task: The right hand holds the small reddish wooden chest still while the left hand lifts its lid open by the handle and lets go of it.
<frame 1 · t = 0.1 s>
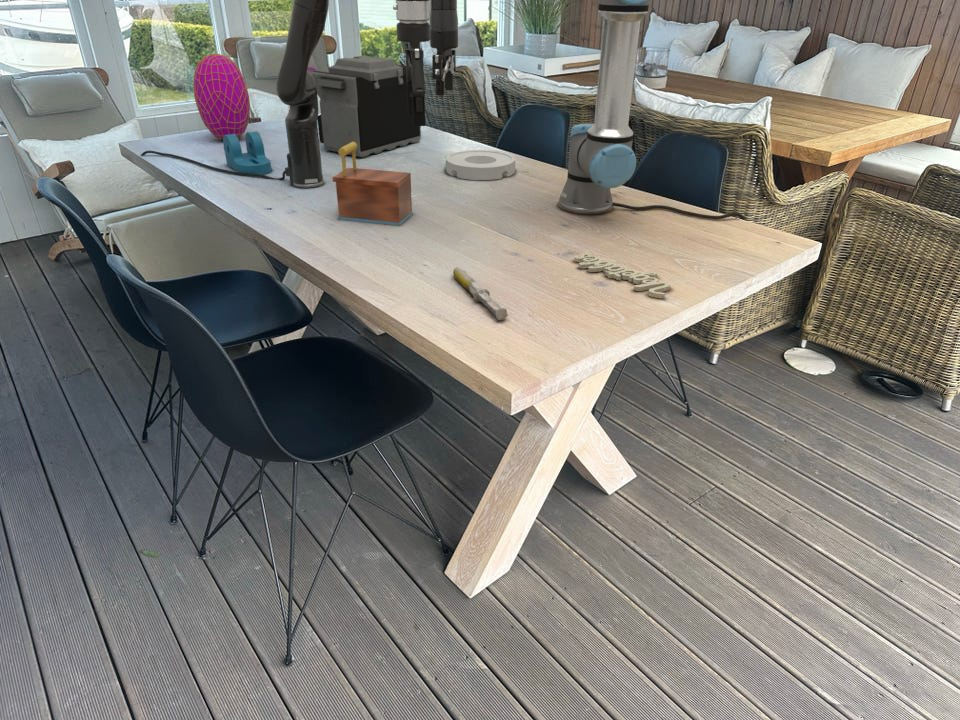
left hand: (444, 92, 191), 29 cm above the table, tool pointing down, fingers open, 8 cm apart
right hand: (416, 120, 165), 28 cm above the table, tool pointing down, fingers open, 13 cm apart
ashtray: (480, 171, 230), on the table
chest: (376, 216, 189), on the table
lid: (371, 163, 182), point 15 cm above the table, hinge at 0.0°
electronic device: (371, 146, 258), on the table
camera mount: (251, 168, 229), on the table
potted flower: (309, 123, 292), on the table
decorative egg: (229, 139, 265), on the table
syringe: (478, 297, 145), on the table
decorative sign: (623, 275, 156), on the table
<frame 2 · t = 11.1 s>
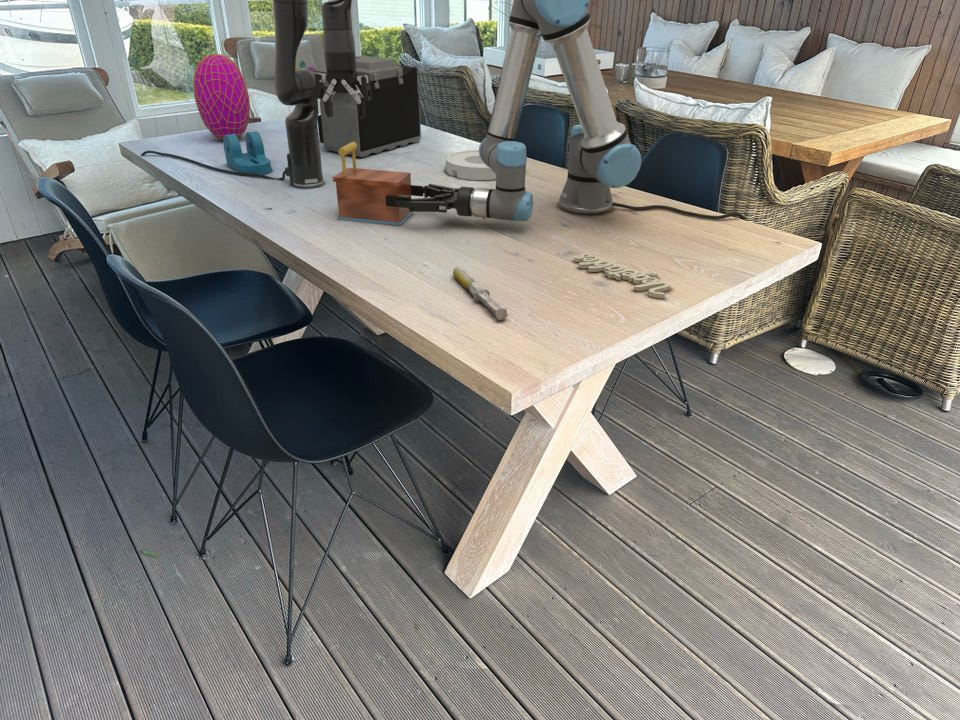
left hand: (345, 117, 177), 26 cm above the table, tool pointing down, fingers open, 8 cm apart
right hand: (393, 194, 184), 7 cm above the table, tool horizontal, fingers closed on chest, 10 cm apart
chest: (376, 216, 189), on the table, touching right hand
everything else where it was.
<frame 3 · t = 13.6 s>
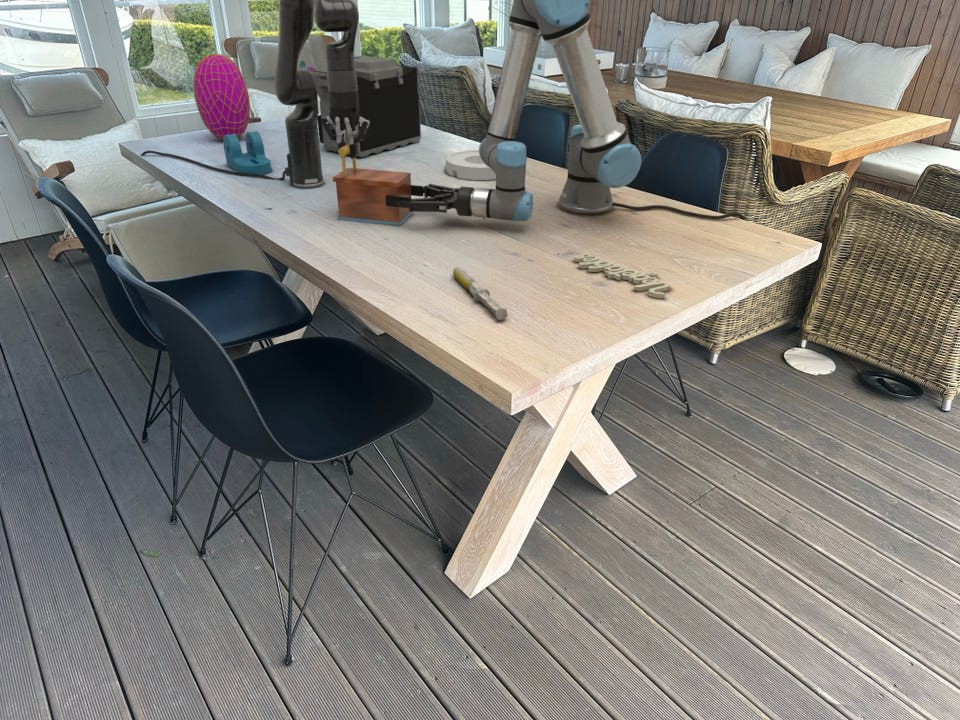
left hand: (348, 157, 182), 16 cm above the table, tool pointing down, fingers closed on lid, 2 cm apart
right hand: (393, 194, 184), 7 cm above the table, tool horizontal, fingers closed on chest, 10 cm apart
chest: (376, 216, 189), on the table, touching right hand
lid: (371, 163, 182), point 15 cm above the table, hinge at -0.1°, touching left hand
everything else where it was.
when the right hand's fingers open (7 cm above the table, at t = 22.1 s): chest stays where it is, on the table.
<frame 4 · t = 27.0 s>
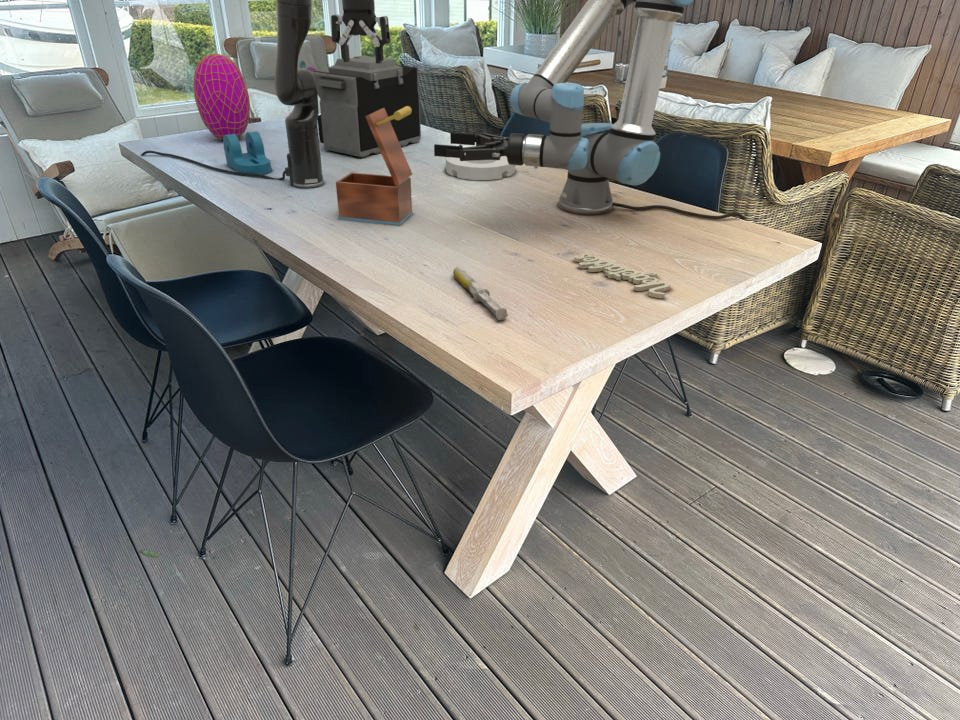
left hand: (362, 62, 169), 39 cm above the table, tool pointing down, fingers open, 8 cm apart
right hand: (442, 143, 174), 21 cm above the table, tool horizontal, fingers open, 13 cm apart
chest: (376, 216, 189), on the table
lid: (401, 141, 177), point 21 cm above the table, hinge at 67.2°
everything else where it was.
at the end: lid at +67° (first picture: +0°); the left hand is holding nothing; the right hand is holding nothing; chest tilted 0°; chest never tilted more than 1° during the clip; chest moved 0.1 cm from its start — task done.
